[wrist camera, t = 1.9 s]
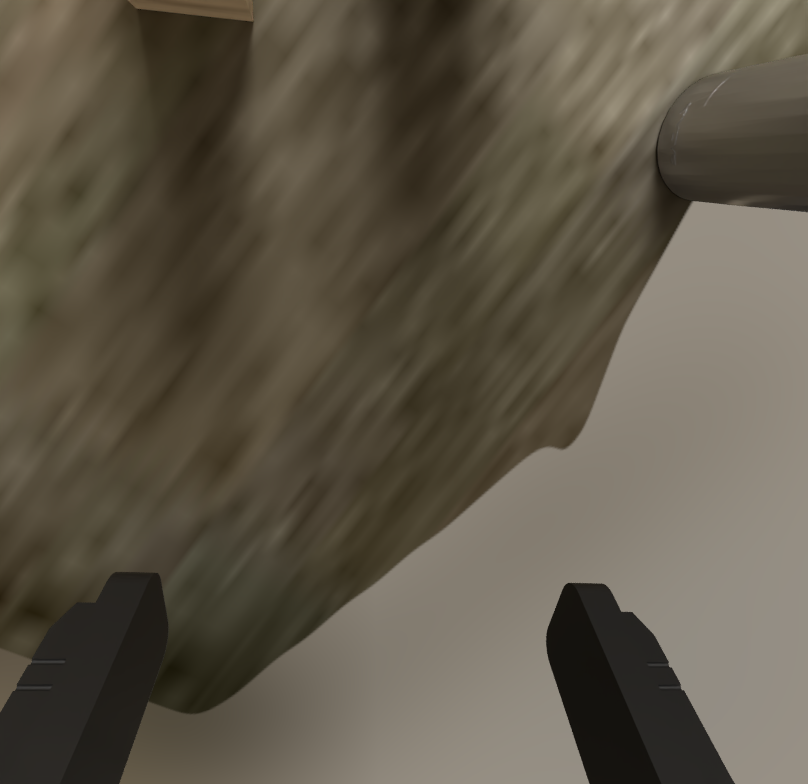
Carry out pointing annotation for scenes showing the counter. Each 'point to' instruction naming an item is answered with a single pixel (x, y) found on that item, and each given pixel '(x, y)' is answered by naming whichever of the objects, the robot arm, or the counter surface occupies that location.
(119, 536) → the counter surface
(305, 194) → the counter surface
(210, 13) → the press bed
